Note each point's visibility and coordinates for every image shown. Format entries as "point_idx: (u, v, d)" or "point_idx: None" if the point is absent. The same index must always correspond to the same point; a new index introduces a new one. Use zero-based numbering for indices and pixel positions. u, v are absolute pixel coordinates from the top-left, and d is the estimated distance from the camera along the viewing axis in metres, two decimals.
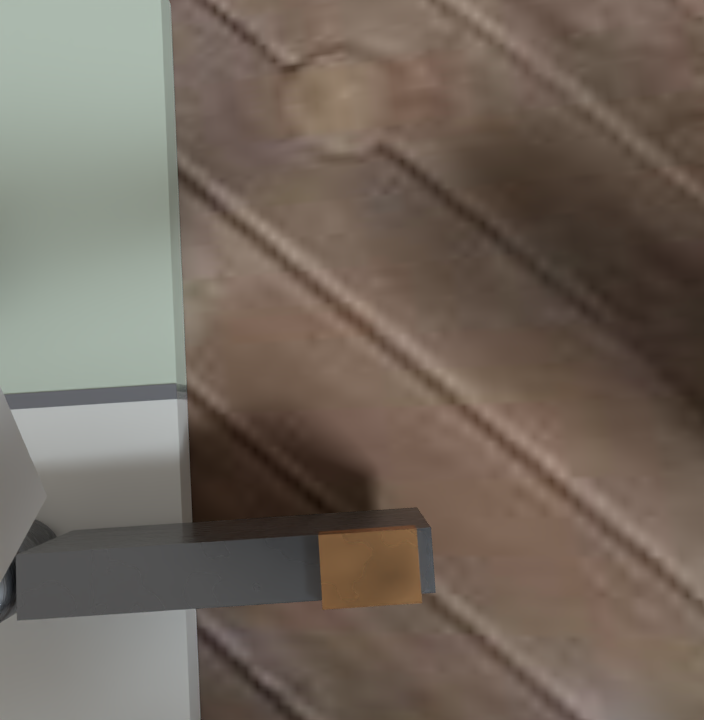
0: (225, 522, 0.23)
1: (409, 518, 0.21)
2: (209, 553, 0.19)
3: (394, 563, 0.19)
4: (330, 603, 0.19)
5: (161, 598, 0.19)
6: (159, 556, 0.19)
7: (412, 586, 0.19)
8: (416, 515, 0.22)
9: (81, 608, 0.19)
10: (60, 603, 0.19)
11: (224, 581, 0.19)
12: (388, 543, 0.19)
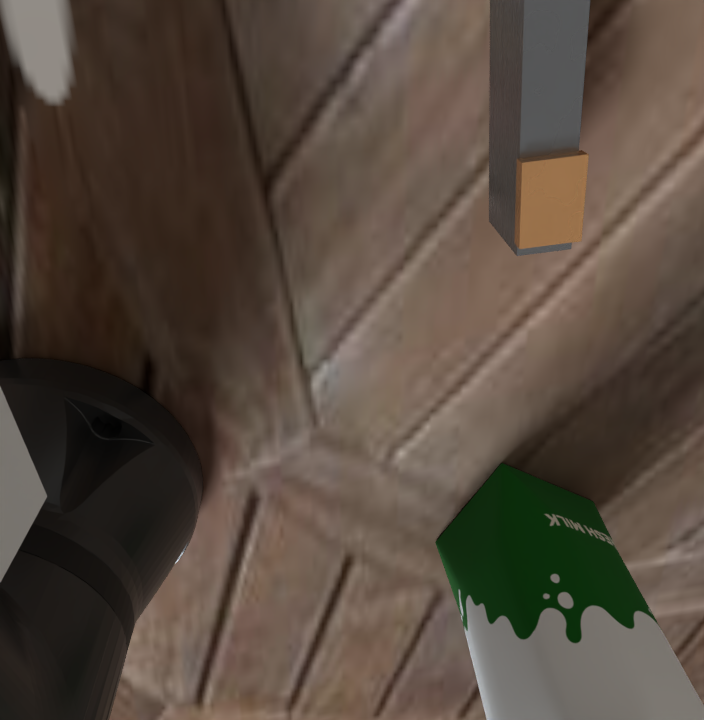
0: None
1: None
2: (575, 36, 0.19)
3: (554, 224, 0.21)
4: (526, 169, 0.20)
5: None
6: None
7: (533, 240, 0.22)
8: None
9: None
10: None
11: (546, 56, 0.19)
12: (572, 218, 0.21)
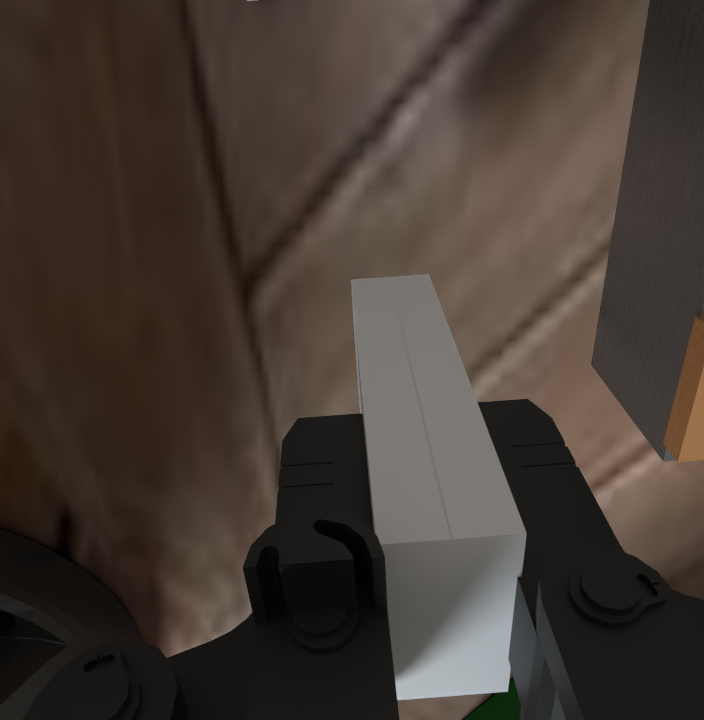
0: None
1: None
2: None
3: None
4: None
5: None
6: None
7: None
8: None
9: None
10: None
11: None
12: None
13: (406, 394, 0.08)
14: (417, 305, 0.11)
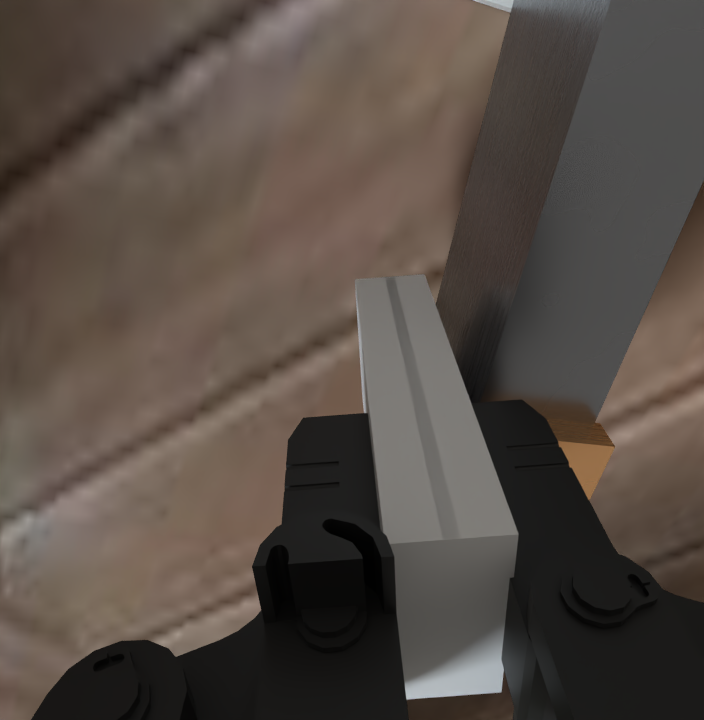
0: None
1: None
2: (660, 214, 0.08)
3: None
4: None
5: (617, 76, 0.07)
6: None
7: None
8: None
9: None
10: None
11: (588, 236, 0.08)
12: None
13: (412, 394, 0.08)
14: (412, 305, 0.11)
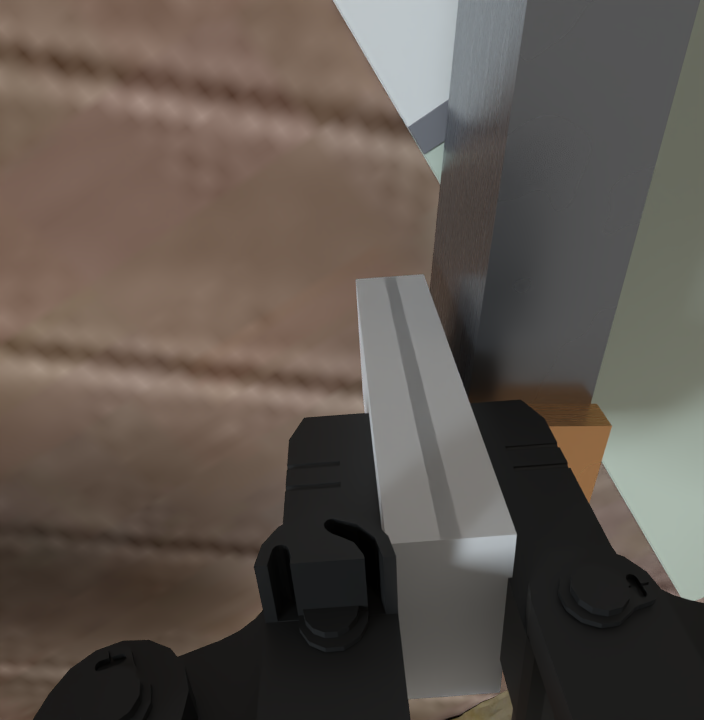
0: None
1: None
2: (621, 185, 0.08)
3: None
4: None
5: (551, 52, 0.07)
6: (656, 54, 0.07)
7: None
8: None
9: None
10: None
11: (550, 216, 0.08)
12: None
13: (413, 393, 0.08)
14: (411, 305, 0.11)
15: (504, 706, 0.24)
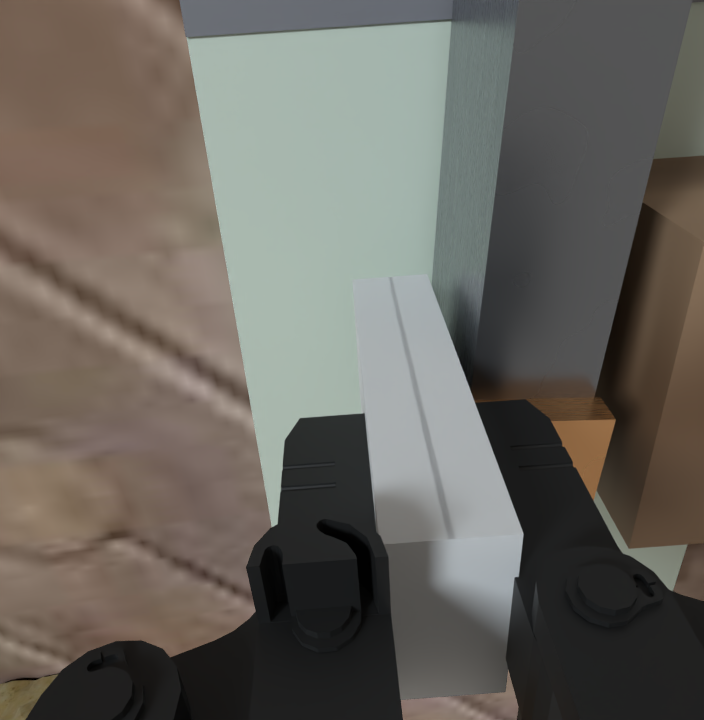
0: None
1: None
2: (620, 176, 0.08)
3: None
4: None
5: (545, 44, 0.07)
6: (652, 43, 0.07)
7: None
8: None
9: None
10: None
11: (548, 210, 0.08)
12: None
13: (408, 394, 0.08)
14: (415, 305, 0.11)
15: None
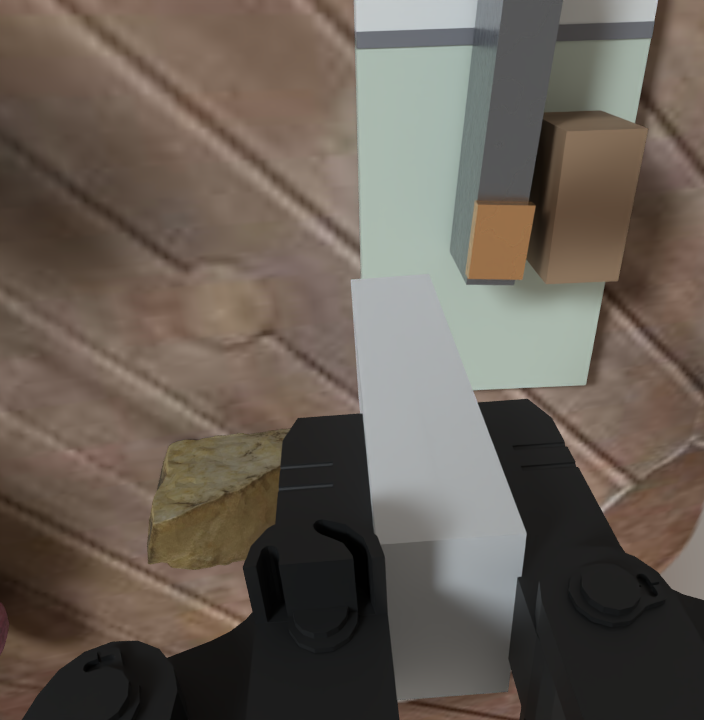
0: None
1: None
2: (534, 104, 0.22)
3: (500, 261, 0.24)
4: (481, 211, 0.23)
5: (507, 55, 0.21)
6: (543, 56, 0.21)
7: (481, 273, 0.25)
8: None
9: None
10: None
11: (508, 116, 0.22)
12: (516, 258, 0.24)
13: (406, 394, 0.08)
14: (417, 305, 0.11)
15: (231, 439, 0.36)
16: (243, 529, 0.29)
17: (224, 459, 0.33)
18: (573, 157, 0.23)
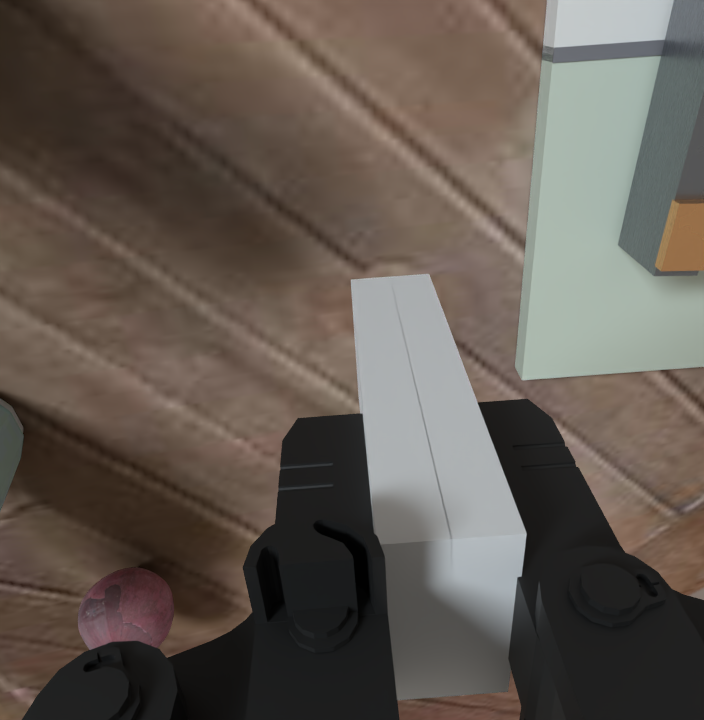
0: None
1: None
2: None
3: (692, 254, 0.27)
4: (681, 209, 0.26)
5: None
6: None
7: (673, 266, 0.27)
8: None
9: None
10: None
11: None
12: None
13: (406, 394, 0.08)
14: (417, 305, 0.11)
15: None
16: None
17: None
18: None
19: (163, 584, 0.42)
